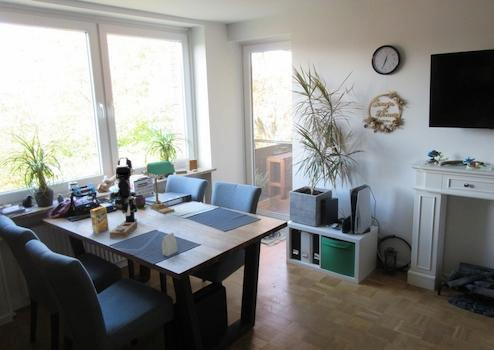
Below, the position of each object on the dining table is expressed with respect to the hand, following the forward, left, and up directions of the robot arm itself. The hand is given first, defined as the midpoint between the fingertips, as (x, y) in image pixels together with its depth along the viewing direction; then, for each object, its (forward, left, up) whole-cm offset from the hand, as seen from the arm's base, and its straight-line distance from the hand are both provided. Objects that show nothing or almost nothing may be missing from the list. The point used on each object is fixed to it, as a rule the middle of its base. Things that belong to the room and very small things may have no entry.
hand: (127, 211), depth 235 cm
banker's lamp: (-44, +7, -12) cm, 46 cm away
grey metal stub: (+9, -1, -11) cm, 15 cm away
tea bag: (+34, +36, -12) cm, 51 cm away
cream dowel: (0, 0, -2) cm, 2 cm away
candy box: (+2, -17, -12) cm, 21 cm away
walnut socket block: (+5, -1, -12) cm, 13 cm away
